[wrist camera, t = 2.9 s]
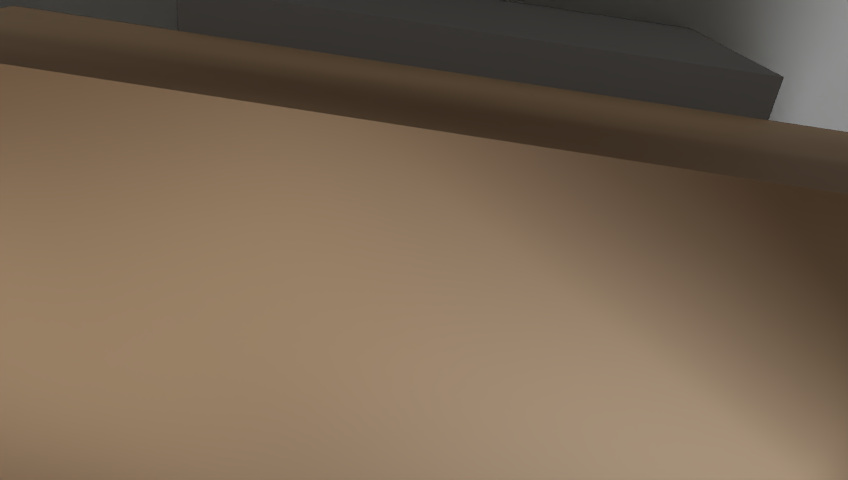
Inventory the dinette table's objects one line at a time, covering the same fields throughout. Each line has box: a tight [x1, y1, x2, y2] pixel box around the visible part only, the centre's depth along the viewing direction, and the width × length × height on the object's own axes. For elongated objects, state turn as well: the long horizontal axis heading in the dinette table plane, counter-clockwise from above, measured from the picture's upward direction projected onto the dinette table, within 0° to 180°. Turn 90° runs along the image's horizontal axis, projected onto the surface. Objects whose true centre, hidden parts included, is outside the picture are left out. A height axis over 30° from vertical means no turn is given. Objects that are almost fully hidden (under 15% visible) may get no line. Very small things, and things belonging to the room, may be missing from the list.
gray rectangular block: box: [177, 0, 784, 120], centre depth 12 cm, size 12×7×4 cm, turn 173°
